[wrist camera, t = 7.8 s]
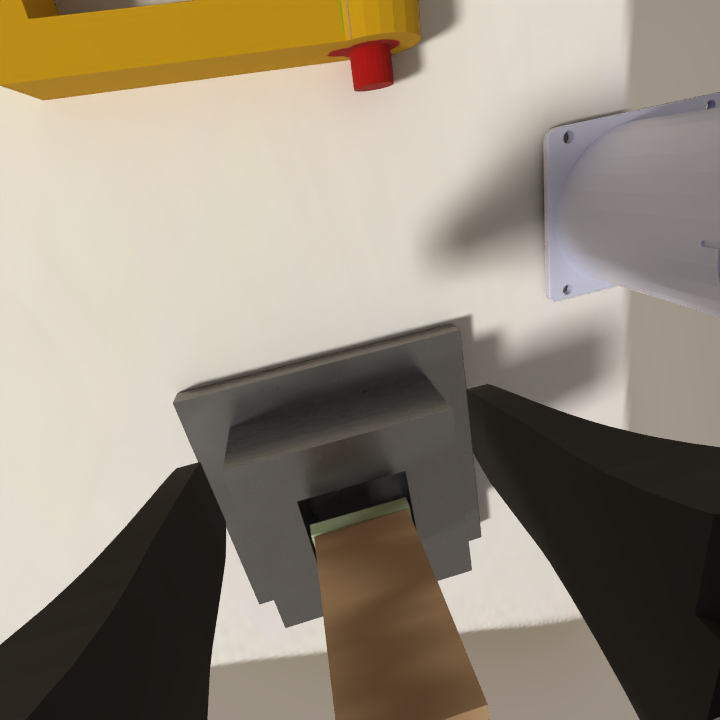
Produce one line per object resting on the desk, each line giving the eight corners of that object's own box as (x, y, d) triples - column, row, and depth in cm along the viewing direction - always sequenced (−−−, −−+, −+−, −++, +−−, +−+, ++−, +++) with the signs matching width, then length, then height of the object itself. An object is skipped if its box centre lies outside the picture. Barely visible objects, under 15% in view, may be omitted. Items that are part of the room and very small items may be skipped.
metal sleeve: (452, 323, 22) (499, 361, 18) (474, 525, 28) (514, 594, 23) (177, 393, 21) (150, 454, 16) (259, 589, 27) (257, 676, 22)
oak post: (405, 497, 19) (491, 701, 11) (418, 565, 20) (499, 780, 13) (309, 525, 18) (334, 754, 11) (331, 592, 20) (365, 829, 13)
